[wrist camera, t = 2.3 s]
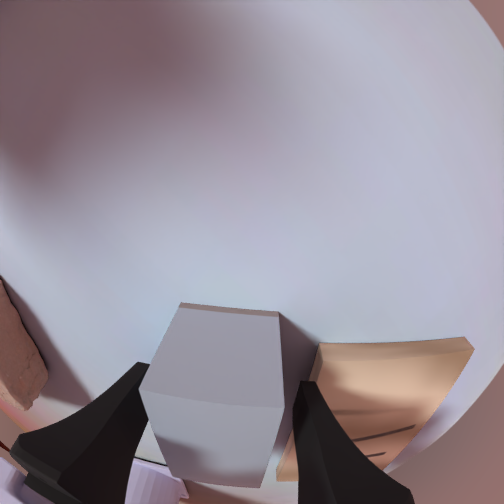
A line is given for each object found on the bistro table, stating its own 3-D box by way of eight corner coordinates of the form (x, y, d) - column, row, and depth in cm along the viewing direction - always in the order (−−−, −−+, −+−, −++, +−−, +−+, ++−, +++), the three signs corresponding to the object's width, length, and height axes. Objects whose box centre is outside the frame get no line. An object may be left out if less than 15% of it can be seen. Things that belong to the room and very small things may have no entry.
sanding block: (262, 411, 14) (259, 487, 9) (191, 403, 14) (172, 477, 9) (278, 310, 11) (284, 408, 6) (181, 300, 11) (138, 388, 6)
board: (379, 460, 16) (381, 470, 15) (276, 469, 16) (276, 481, 15) (464, 336, 11) (474, 349, 10) (319, 342, 11) (323, 361, 10)
